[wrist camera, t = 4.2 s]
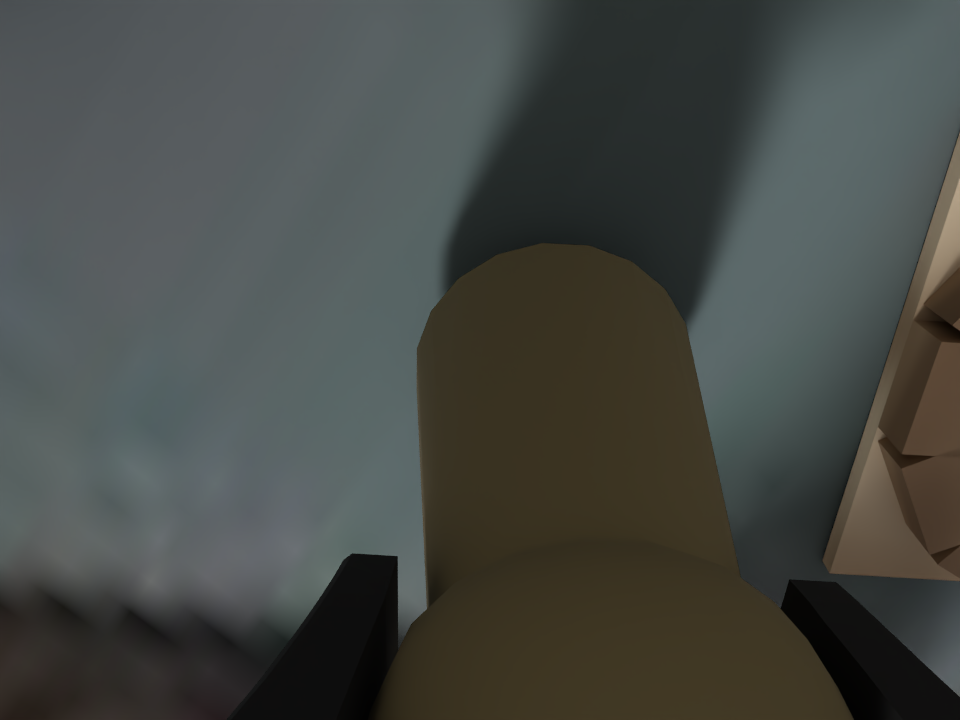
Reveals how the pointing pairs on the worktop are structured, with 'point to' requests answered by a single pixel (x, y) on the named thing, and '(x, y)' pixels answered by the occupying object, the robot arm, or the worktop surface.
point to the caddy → (913, 428)
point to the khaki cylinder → (581, 516)
